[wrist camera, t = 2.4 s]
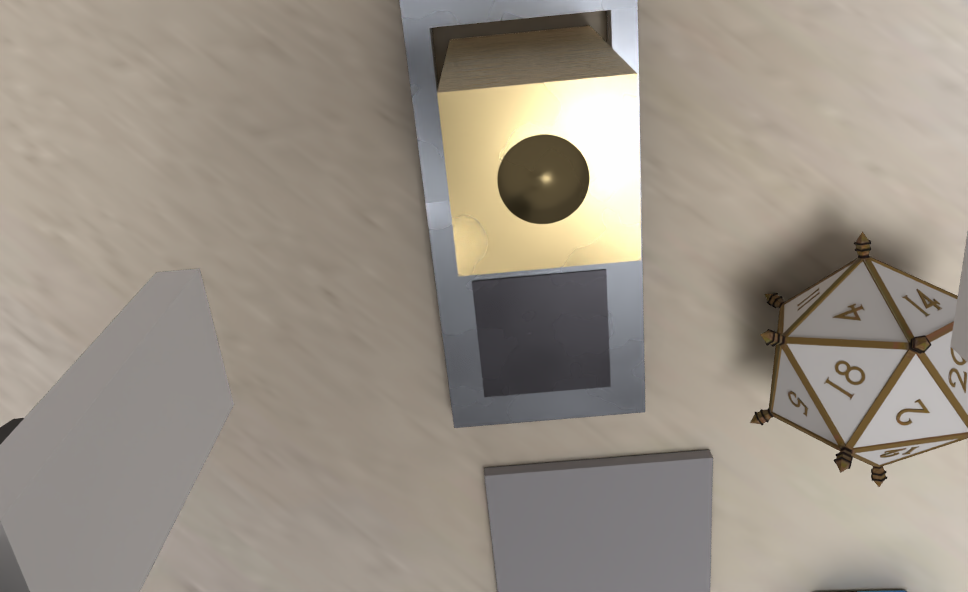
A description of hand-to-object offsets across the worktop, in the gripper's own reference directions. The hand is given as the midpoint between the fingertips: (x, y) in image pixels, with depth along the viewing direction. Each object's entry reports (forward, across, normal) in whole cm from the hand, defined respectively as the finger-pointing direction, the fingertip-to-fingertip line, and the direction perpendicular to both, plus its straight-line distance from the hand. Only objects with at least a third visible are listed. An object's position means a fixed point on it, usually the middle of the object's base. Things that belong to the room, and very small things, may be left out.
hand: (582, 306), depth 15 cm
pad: (+18, +2, -21) cm, 28 cm away
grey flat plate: (+18, 0, -4) cm, 18 cm away
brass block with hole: (+18, 0, 0) cm, 18 cm away
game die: (+18, +12, -10) cm, 24 cm away
